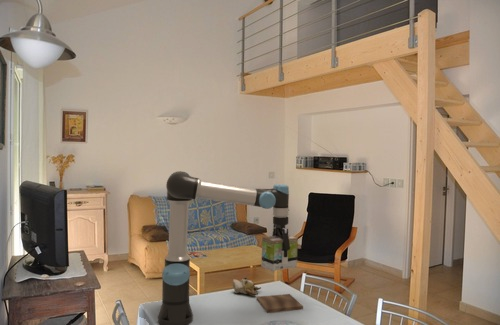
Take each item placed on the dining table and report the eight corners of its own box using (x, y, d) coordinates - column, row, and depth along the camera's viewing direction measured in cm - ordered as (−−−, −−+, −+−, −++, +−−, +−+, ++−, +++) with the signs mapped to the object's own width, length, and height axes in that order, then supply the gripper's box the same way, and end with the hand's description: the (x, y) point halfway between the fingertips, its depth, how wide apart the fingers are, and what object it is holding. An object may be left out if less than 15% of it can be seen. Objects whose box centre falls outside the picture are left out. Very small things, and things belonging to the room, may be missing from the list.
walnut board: (267, 312, 186) (267, 309, 186) (256, 299, 203) (256, 296, 203) (303, 309, 192) (303, 306, 192) (289, 296, 208) (289, 293, 208)
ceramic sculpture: (235, 273, 218) (262, 276, 215) (234, 288, 218) (261, 292, 216) (230, 279, 208) (258, 283, 205) (229, 295, 208) (257, 299, 205)
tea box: (273, 272, 188) (274, 240, 188) (260, 267, 196) (261, 236, 196) (297, 267, 197) (298, 237, 196) (284, 262, 205) (284, 233, 205)
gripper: (297, 219, 186) (296, 266, 186) (279, 212, 209) (278, 254, 209) (282, 220, 184) (281, 267, 184) (265, 212, 207) (265, 254, 207)
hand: (280, 260), depth 197 cm, fingers closed on tea box, 11 cm apart
